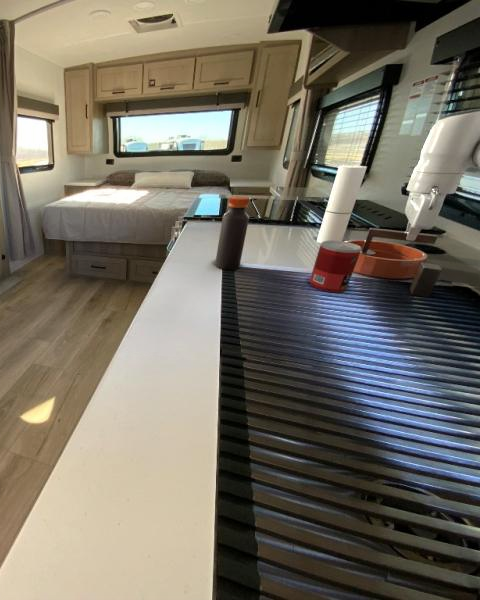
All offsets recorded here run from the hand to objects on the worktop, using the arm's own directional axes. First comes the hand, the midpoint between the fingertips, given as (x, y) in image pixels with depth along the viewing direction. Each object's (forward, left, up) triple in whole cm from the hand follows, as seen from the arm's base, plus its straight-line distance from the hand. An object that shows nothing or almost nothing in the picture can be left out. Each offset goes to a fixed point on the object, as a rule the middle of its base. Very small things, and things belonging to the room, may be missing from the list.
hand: (409, 238), depth 89 cm
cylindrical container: (+17, -22, -10) cm, 29 cm away
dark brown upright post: (-3, +15, -9) cm, 18 cm away
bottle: (+40, +21, -10) cm, 46 cm away
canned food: (+15, +22, -10) cm, 28 cm away
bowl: (+5, 0, -9) cm, 10 cm away
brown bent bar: (+3, 0, -7) cm, 8 cm away
